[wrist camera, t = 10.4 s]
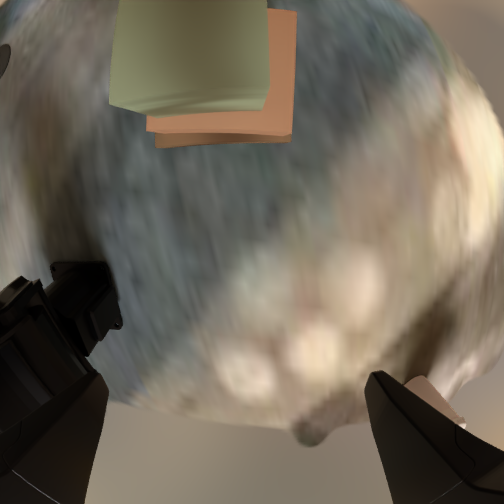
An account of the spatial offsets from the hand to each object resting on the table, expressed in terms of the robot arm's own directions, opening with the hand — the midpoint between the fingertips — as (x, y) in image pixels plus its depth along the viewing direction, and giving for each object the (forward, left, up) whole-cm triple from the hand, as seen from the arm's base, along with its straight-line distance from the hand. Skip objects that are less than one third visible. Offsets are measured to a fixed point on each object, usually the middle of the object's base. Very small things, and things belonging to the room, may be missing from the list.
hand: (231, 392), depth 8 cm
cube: (-1, +11, -7) cm, 13 cm away
